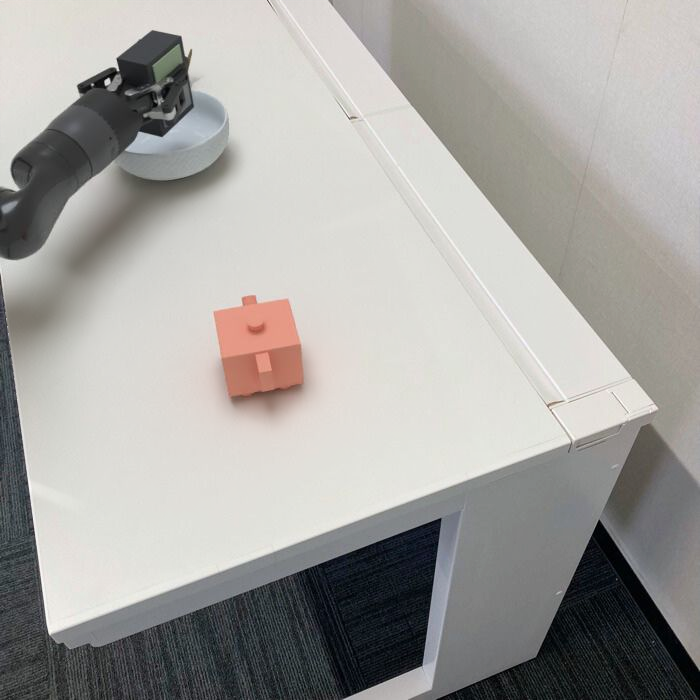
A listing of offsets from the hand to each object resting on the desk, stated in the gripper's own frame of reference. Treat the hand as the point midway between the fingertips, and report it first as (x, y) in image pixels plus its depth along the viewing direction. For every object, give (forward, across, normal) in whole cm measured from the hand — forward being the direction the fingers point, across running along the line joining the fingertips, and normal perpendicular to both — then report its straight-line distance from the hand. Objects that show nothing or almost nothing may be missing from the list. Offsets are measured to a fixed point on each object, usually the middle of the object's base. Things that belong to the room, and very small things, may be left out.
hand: (167, 67), depth 100 cm
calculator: (-3, 0, +6) cm, 7 cm away
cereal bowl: (-3, 0, +13) cm, 14 cm away
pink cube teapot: (-32, -29, +13) cm, 45 cm away
